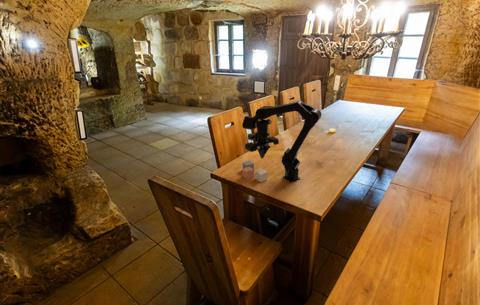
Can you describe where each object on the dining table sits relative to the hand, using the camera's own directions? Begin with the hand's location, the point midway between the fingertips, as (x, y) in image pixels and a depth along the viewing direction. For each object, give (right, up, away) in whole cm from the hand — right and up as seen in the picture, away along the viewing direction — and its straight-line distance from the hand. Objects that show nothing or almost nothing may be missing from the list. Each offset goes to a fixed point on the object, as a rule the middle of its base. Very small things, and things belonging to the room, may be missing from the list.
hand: (261, 158), depth 140 cm
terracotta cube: (-7, -10, -1) cm, 12 cm away
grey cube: (-7, -7, +5) cm, 11 cm away
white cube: (-1, -11, -4) cm, 12 cm away
